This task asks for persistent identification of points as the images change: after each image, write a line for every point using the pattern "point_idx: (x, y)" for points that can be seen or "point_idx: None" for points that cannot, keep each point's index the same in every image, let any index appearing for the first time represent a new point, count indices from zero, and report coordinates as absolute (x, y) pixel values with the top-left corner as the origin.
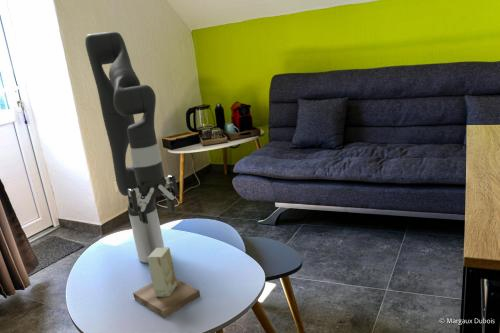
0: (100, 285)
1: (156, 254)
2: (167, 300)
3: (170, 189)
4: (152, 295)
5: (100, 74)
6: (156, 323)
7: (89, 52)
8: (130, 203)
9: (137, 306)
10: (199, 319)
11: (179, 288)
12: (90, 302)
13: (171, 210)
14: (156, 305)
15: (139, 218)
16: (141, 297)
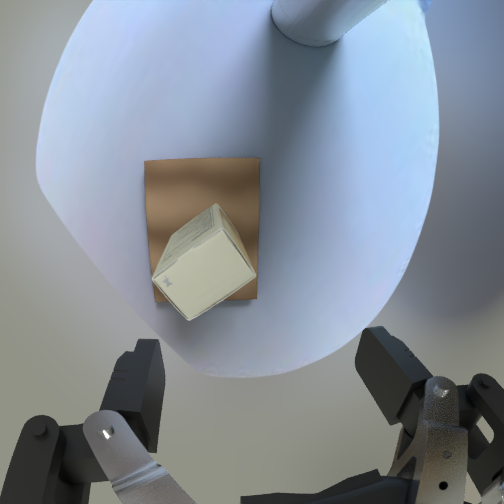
0: (136, 28)
1: (186, 289)
2: None
3: (487, 419)
4: (170, 221)
5: None
6: (138, 294)
7: None
8: (24, 478)
9: (137, 200)
10: (203, 347)
11: None
12: (81, 86)
13: (362, 371)
14: (155, 269)
15: (114, 371)
16: (147, 204)
